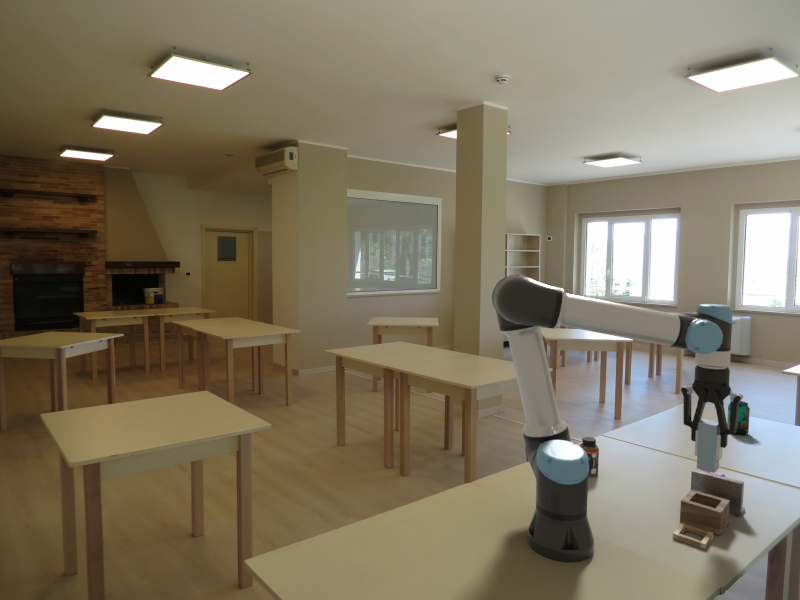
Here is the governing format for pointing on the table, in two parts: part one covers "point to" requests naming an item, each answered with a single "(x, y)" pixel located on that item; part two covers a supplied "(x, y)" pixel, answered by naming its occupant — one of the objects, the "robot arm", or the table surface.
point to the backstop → (720, 489)
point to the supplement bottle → (591, 454)
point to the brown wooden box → (705, 511)
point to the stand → (702, 544)
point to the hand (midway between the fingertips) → (708, 456)
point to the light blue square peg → (707, 445)
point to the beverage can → (741, 418)
